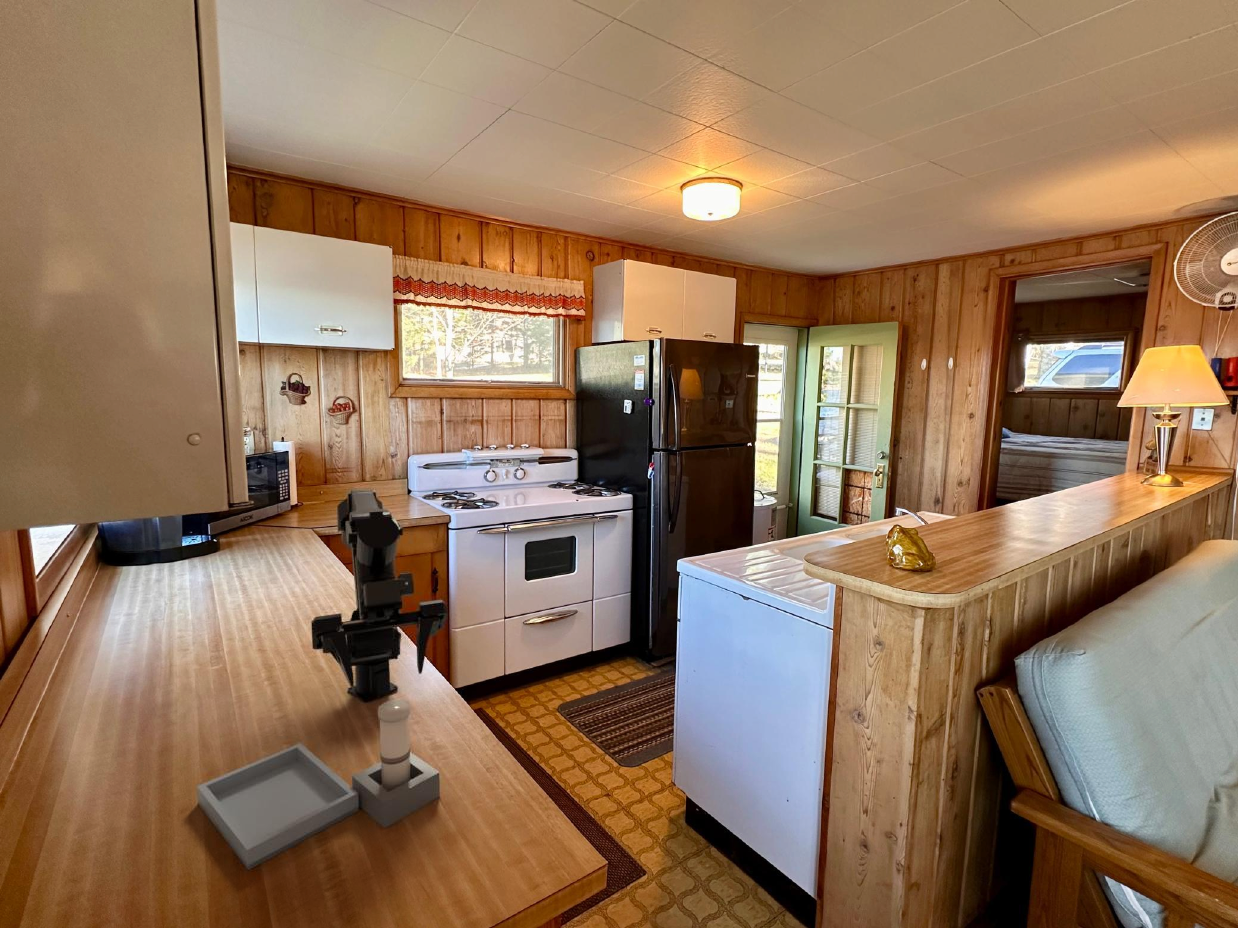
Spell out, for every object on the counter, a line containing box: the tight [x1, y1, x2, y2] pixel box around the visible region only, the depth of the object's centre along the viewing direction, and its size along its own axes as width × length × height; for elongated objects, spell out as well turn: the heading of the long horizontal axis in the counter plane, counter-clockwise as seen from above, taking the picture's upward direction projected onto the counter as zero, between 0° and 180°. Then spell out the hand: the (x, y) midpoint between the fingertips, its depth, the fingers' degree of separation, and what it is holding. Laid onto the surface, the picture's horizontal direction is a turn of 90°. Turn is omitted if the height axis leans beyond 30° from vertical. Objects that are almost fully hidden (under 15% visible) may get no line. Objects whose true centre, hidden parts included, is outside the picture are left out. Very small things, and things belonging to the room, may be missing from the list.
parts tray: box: [196, 742, 360, 871], centre depth 79 cm, size 17×13×2 cm
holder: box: [351, 751, 441, 829], centre depth 81 cm, size 8×8×4 cm
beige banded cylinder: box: [377, 698, 411, 792], centre depth 81 cm, size 4×4×13 cm
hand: (387, 678), depth 87 cm, fingers open, 9 cm apart
